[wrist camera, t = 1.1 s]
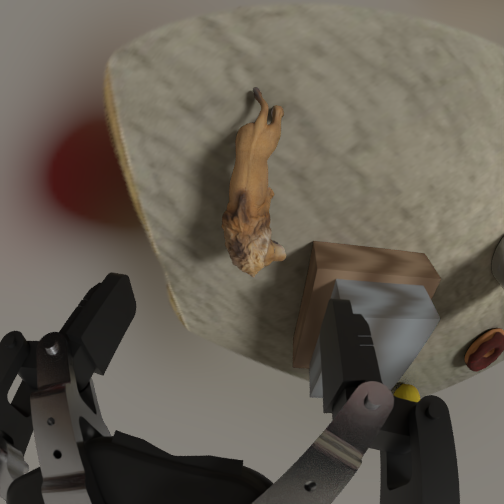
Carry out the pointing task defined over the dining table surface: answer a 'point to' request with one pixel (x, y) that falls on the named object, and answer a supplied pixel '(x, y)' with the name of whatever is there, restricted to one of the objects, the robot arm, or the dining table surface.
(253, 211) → the lion figurine
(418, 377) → the dining table surface
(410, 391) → the lemon
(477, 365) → the donut
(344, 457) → the robot arm
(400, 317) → the two-tone block
